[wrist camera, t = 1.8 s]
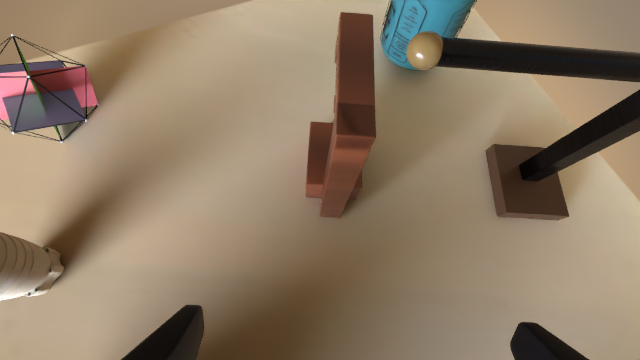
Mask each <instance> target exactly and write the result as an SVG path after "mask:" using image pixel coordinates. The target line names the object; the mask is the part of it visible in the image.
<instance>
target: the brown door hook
mask: <svg viewBox="0 0 640 360" xmlns="http://www.w3.org/2000/svg"><path fill="white" fill-rule="evenodd" d="M335 63H336V90H335V98H334V113H335V116H334V123H322V122H311V123H310V136H309V150H308V164H307V178H306V197H312V198H321V204H320V216H321V217H337V218H340V216H341V214H342V212H343V210H344V207H345V205H346V203H347V201H348V200H356V198H357V196H358V194H359V192H360V190H361V188H362V167H363V165H364V163H365V161H366V158H367V156H368V154H369V152H370V149H371V147H372V145H373V143H374V140H375V138H376V119H375V83H374V40H373V15H369V14H357V13H345V12H341V13H340V17H339V25H338V34H337V41H336V49H335Z"/></svg>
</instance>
